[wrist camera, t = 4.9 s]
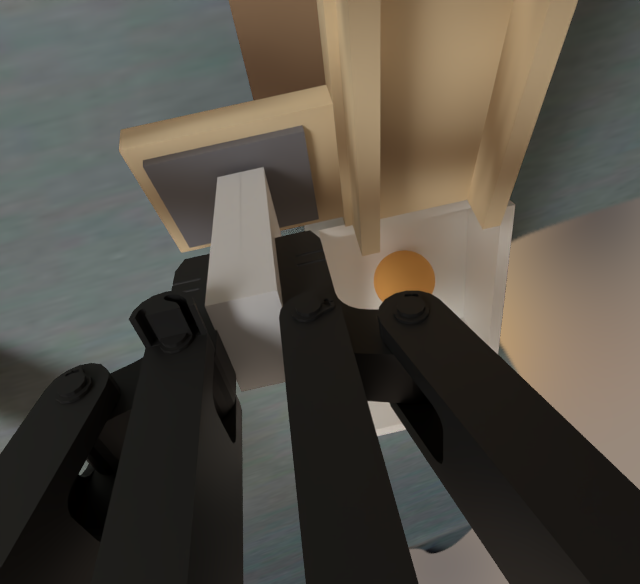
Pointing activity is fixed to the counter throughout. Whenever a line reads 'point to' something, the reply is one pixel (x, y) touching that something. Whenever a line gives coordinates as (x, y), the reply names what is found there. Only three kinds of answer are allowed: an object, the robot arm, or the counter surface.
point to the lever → (371, 120)
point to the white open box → (446, 260)
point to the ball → (403, 274)
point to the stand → (279, 45)
